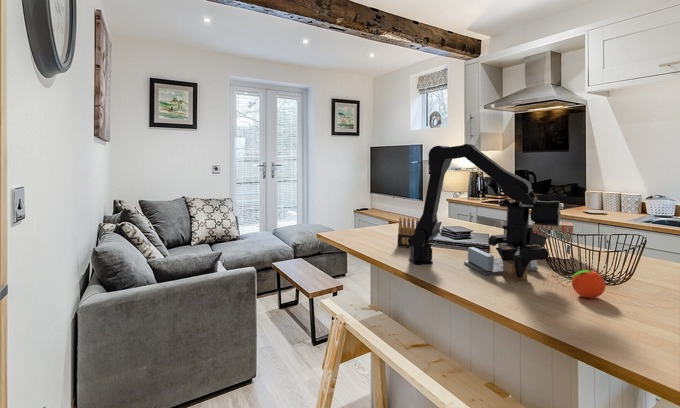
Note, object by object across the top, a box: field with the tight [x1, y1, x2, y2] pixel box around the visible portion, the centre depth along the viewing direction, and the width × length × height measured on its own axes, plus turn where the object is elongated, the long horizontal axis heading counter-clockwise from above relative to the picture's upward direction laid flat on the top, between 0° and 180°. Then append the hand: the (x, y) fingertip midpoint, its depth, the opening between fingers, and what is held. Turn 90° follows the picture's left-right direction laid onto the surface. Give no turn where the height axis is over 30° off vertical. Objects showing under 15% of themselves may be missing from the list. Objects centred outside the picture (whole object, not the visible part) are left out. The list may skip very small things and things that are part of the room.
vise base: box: [463, 247, 539, 277], centre depth 112 cm, size 18×12×6 cm, turn 100°
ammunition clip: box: [396, 216, 419, 248], centre depth 139 cm, size 11×2×12 cm, turn 59°
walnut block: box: [502, 260, 528, 282], centre depth 102 cm, size 5×4×5 cm
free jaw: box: [467, 246, 495, 271], centre depth 111 cm, size 2×11×4 cm, turn 10°
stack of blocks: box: [503, 220, 574, 254], centre depth 126 cm, size 21×6×12 cm, turn 59°
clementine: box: [570, 269, 606, 299], centre depth 88 cm, size 8×7×7 cm
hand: (514, 274), depth 102 cm, fingers closed on walnut block, 4 cm apart
